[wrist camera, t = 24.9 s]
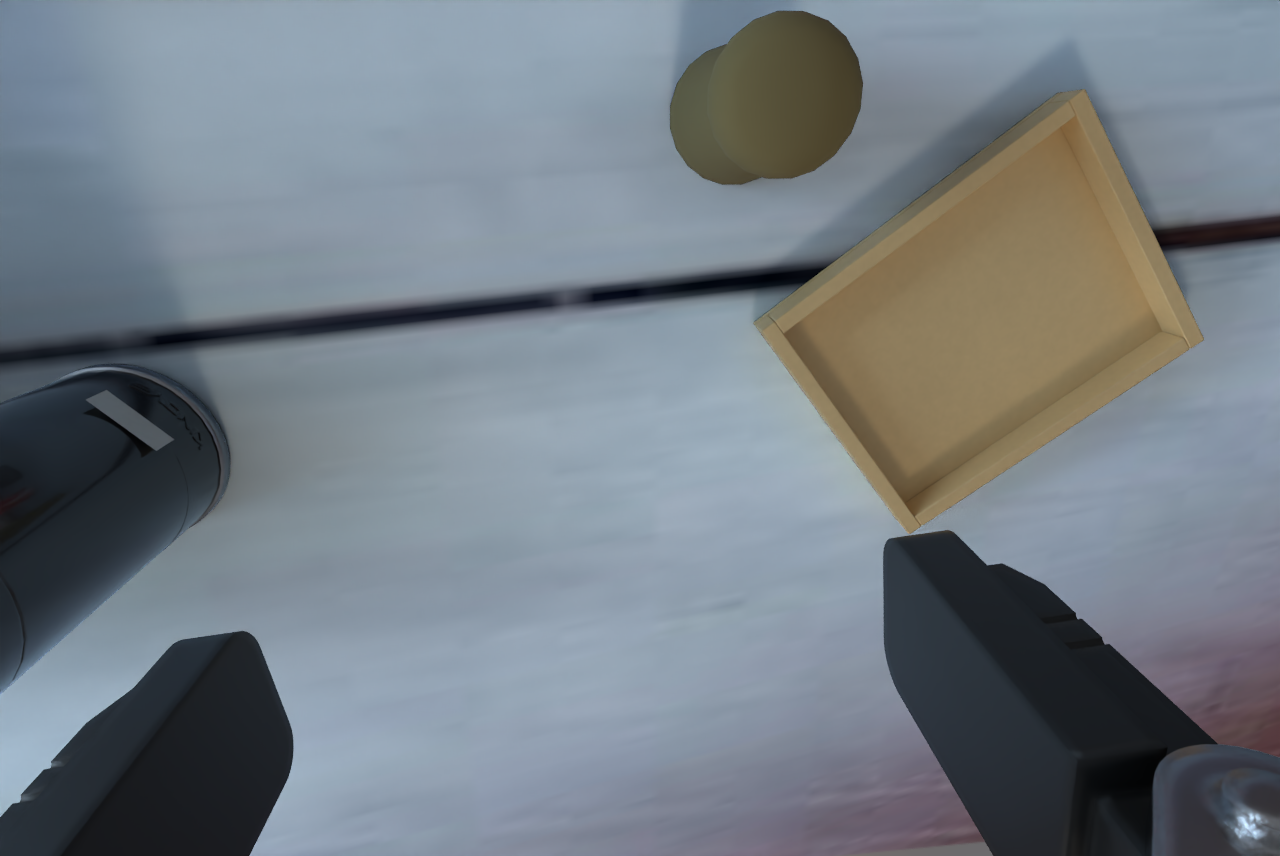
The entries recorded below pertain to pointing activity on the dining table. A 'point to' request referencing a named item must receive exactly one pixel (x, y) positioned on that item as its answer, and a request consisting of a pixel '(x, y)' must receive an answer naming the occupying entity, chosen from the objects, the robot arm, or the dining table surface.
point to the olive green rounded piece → (768, 100)
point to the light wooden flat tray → (986, 314)
